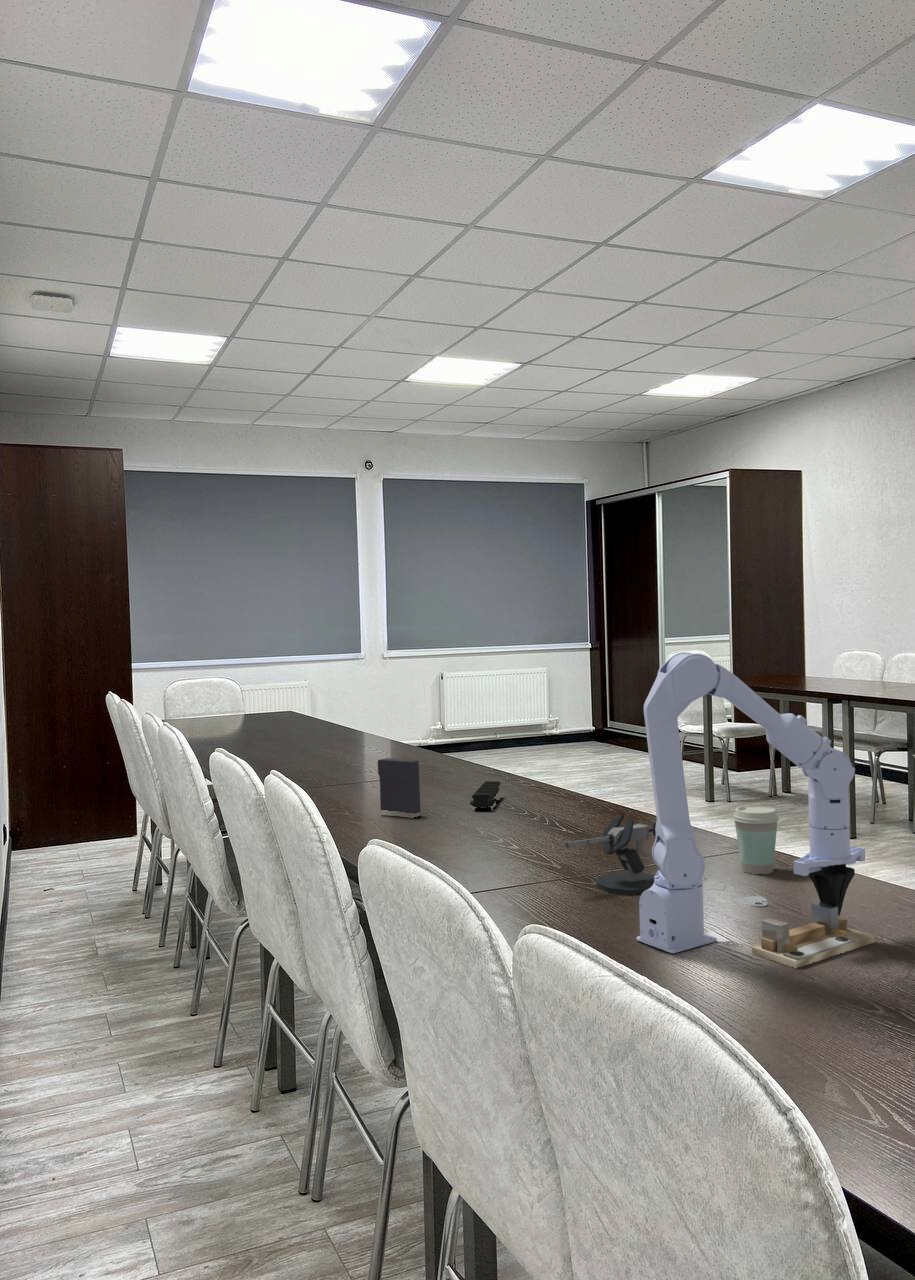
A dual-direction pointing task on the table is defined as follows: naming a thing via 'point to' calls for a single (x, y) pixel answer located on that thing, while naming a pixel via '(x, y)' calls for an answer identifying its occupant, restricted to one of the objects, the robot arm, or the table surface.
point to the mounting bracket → (750, 899)
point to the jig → (806, 942)
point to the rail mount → (485, 794)
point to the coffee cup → (756, 838)
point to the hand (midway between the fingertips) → (831, 914)
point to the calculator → (399, 785)
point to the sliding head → (827, 917)
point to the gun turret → (623, 857)
